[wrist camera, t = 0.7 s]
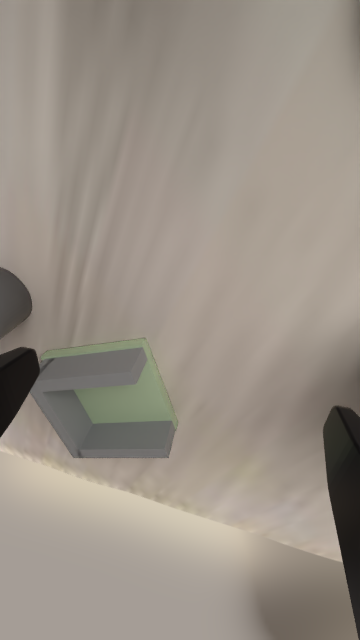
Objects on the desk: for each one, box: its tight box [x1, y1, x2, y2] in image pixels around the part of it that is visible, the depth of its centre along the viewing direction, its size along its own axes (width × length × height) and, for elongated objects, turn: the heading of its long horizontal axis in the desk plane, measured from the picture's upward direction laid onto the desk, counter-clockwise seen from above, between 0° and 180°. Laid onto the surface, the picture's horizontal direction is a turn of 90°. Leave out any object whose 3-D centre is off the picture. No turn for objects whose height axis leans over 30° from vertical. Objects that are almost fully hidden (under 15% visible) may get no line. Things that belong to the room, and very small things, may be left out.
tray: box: [30, 338, 178, 458], centre depth 26 cm, size 10×10×4 cm
